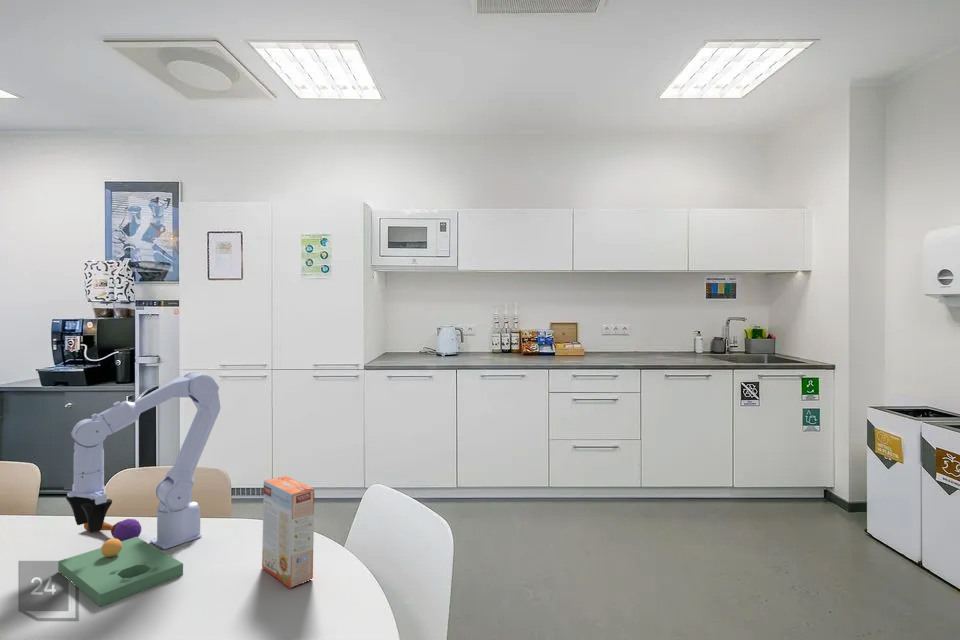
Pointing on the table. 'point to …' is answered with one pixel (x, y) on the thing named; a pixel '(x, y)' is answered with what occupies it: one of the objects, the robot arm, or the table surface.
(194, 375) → the robot arm
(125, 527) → the kendama
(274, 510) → the cracker box
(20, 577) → the table surface
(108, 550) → the ball
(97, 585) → the putting mat
